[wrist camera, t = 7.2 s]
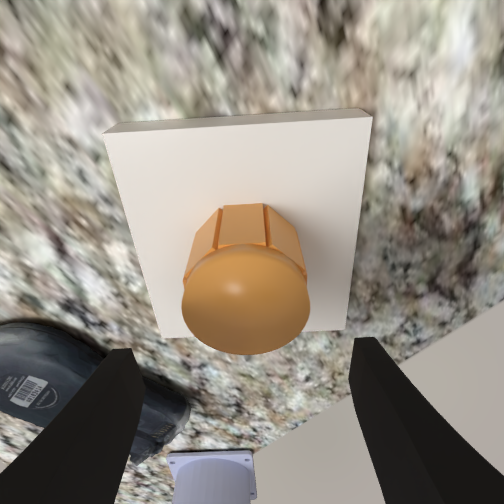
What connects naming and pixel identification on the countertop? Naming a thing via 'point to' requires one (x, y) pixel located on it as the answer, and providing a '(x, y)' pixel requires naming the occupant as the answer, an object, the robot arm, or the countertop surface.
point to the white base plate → (244, 195)
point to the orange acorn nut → (245, 281)
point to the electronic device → (74, 385)
